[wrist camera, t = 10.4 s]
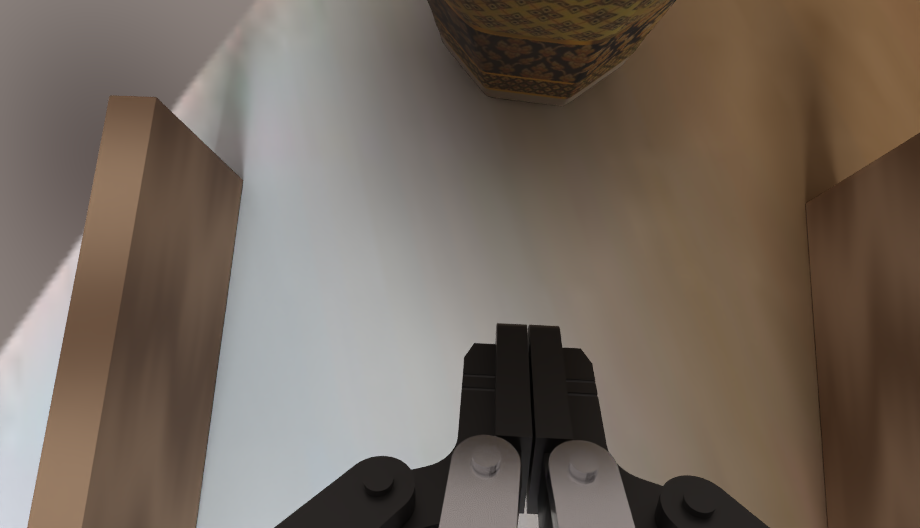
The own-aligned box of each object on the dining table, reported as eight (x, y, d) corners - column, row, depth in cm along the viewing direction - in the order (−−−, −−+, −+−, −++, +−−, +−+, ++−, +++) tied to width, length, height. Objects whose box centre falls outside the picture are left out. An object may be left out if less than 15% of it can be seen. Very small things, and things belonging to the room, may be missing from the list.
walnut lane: (875, 599, 18) (1061, 690, 12) (153, 552, 19) (10, 616, 13) (842, 204, 21) (983, 127, 15) (208, 178, 22) (109, 95, 16)
